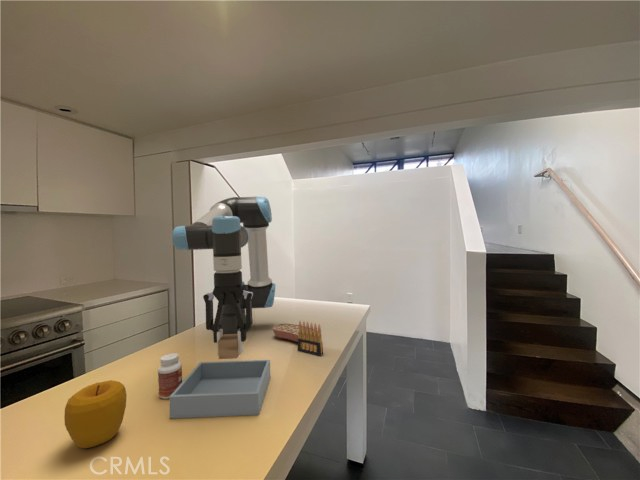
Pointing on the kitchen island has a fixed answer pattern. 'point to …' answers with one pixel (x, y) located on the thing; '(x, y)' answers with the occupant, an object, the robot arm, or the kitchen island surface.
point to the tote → (222, 389)
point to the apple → (95, 413)
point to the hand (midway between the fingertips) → (230, 352)
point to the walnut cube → (228, 346)
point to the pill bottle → (169, 375)
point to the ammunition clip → (310, 339)
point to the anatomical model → (287, 331)
